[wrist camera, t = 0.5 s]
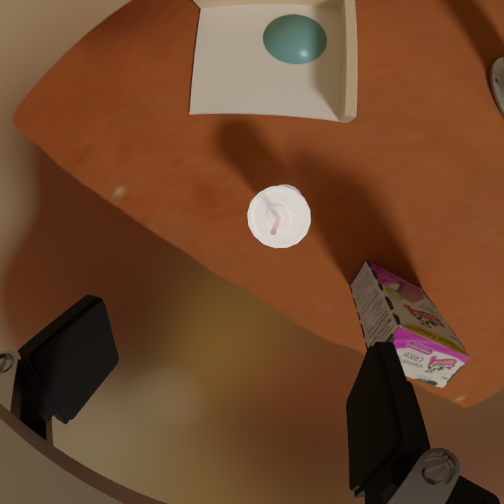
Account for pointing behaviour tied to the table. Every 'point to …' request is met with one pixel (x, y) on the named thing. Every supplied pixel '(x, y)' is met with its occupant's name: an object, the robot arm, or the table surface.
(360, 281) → the candy bar box
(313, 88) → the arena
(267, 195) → the beverage cup
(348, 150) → the table surface
